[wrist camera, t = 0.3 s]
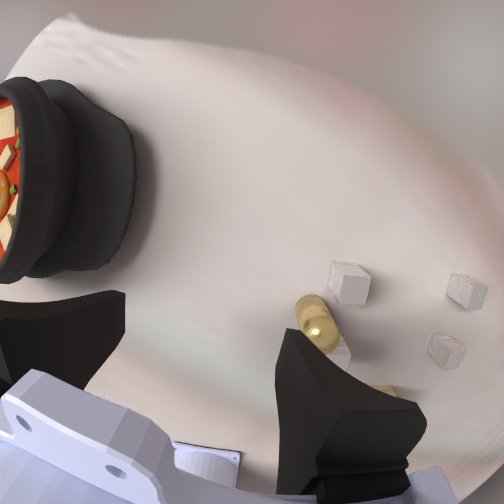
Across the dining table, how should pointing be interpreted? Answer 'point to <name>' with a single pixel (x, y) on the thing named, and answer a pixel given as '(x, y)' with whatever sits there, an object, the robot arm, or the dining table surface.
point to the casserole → (60, 180)
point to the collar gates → (356, 292)
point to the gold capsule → (317, 323)
